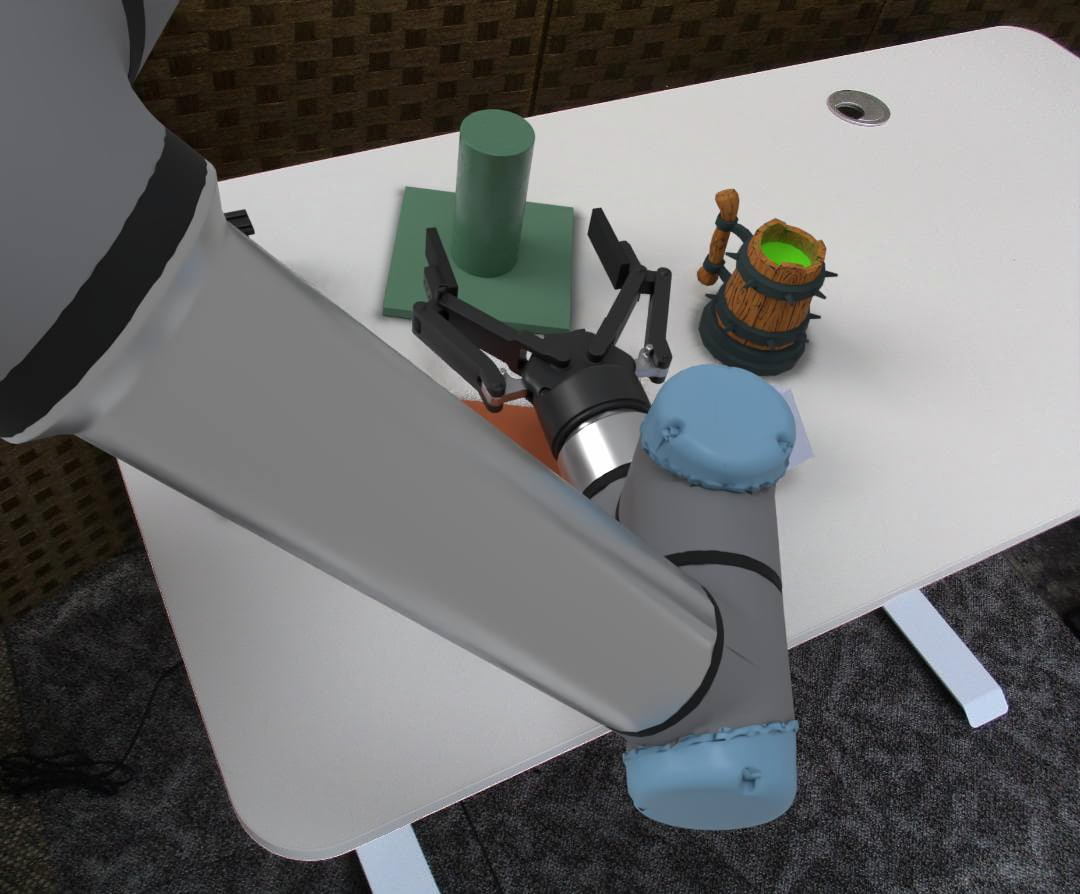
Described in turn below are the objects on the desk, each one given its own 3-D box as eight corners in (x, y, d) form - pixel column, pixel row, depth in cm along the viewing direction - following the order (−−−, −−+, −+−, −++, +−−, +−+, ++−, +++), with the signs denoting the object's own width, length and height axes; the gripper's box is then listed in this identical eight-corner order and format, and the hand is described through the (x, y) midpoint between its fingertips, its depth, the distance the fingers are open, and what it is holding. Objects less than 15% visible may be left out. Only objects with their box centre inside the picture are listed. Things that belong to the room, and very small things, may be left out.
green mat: (382, 315, 85) (382, 307, 84) (405, 194, 94) (405, 185, 93) (568, 337, 86) (570, 329, 85) (572, 215, 95) (573, 207, 95)
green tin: (448, 273, 87) (456, 150, 77) (454, 227, 91) (463, 104, 80) (515, 281, 88) (533, 160, 77) (519, 235, 91) (536, 114, 81)
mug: (829, 345, 89) (880, 249, 80) (756, 397, 84) (802, 300, 75) (723, 262, 94) (760, 161, 85) (649, 306, 89) (679, 205, 80)
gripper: (424, 507, 67) (358, 285, 78) (753, 441, 74) (648, 247, 85) (428, 440, 61) (356, 211, 72) (786, 375, 68) (668, 176, 79)
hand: (514, 230), depth 78 cm, fingers open, 13 cm apart
